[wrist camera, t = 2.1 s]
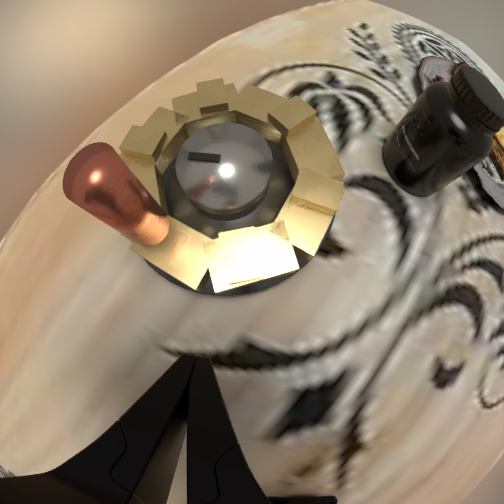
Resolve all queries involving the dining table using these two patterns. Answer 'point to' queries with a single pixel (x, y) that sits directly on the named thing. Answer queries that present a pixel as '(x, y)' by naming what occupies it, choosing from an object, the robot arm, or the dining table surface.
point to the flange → (228, 189)
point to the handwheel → (230, 242)
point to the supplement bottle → (445, 132)
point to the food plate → (500, 153)
